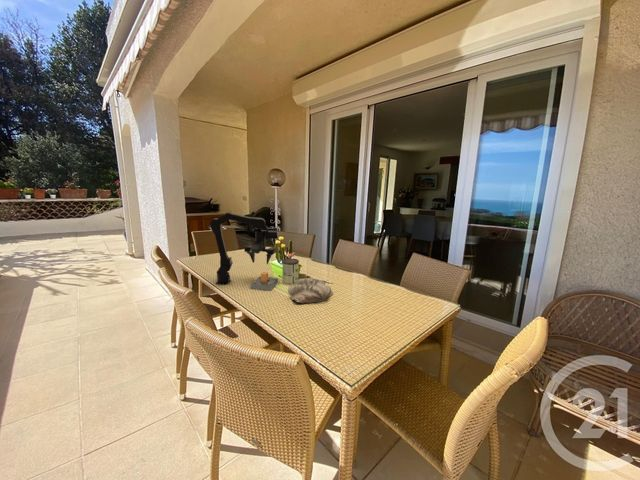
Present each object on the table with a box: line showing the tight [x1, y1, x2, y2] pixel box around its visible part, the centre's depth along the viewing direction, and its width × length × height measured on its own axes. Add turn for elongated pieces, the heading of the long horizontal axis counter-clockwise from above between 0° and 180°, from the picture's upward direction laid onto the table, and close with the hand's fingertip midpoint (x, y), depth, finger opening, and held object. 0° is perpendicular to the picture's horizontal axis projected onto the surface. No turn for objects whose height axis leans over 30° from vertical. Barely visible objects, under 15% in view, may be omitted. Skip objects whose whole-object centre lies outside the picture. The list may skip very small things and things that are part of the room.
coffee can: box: [281, 258, 300, 286], centre depth 160 cm, size 10×10×14 cm
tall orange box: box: [260, 271, 269, 283], centre depth 153 cm, size 3×3×8 cm
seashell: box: [287, 277, 334, 304], centre depth 141 cm, size 28×18×15 cm, turn 134°
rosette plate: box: [249, 275, 279, 292], centre depth 153 cm, size 12×14×4 cm
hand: (260, 263), depth 158 cm, fingers open, 9 cm apart
